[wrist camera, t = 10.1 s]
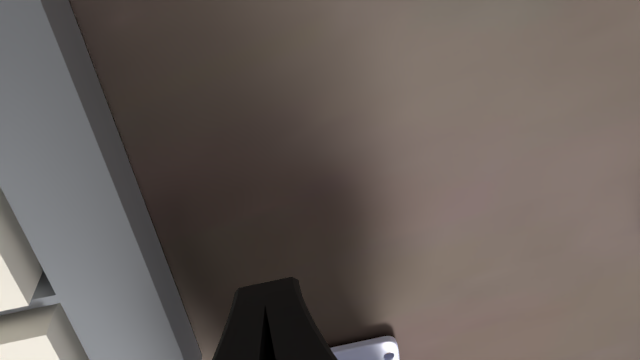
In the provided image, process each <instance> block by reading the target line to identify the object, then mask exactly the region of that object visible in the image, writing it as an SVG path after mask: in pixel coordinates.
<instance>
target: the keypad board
mask: <svg viewBox="0 0 640 360" xmlns="http://www.w3.org/2000/svg"><path fill="white" fill-rule="evenodd" d="M0 187H1V189H2V191H3V193H4V195H5V197H6V199H7V200H8V202H9V204H10V206H11V208H12V210H13V212H14V214H15V216H16V218H17V220H18V222H19V224H20V226H21V228H22V230H23V232H24V234H25V235H26V237H27V239H28V241H29V243H30V245H31V247H32V249H33V251H34V253H35V255H36V257H37V259H38V261H39V263H40V265H41V267H42V268H43V272H42V275H41V277H40V280H39V282H38V284H37V287H36V289H35V292H34V294H33V296H32V299H31V301H30V304H29V306H24V307H19V308H15V309H10V310H5V311H0V315H5V314H10V313H15V312H19V311H24V310H29V309H34V308H38V307H43V306H48V305H53V304H57V303H61V305H62V307H63V309H64V311H65V313H66V315H67V317H68V319H69V321H70V323H71V325H72V327H73V329H74V331H75V333H76V334H77V336H78V338H79V340H80V342H81V344H82V346H83V348H84V350H85V352H86V354H87V356H88V358H89V360H202V354H201V352H200V349H199V346H198V344H197V341H196V338H195V336H194V333H193V330H192V328H191V325H190V322H189V320H188V317H187V314H186V312H185V309H184V306H183V304H182V301H181V298H180V296H179V293H178V290H177V288H176V285H175V282H174V280H173V277H172V274H171V272H170V269H169V266H168V264H167V261H166V258H165V256H164V253H163V250H162V248H161V245H160V242H159V240H158V237H157V234H156V232H155V229H154V226H153V224H152V221H151V218H150V216H149V213H148V210H147V208H146V205H145V202H144V200H143V197H142V194H141V192H140V189H139V186H138V184H137V181H136V178H135V176H134V173H133V170H132V168H131V165H130V162H129V160H128V157H127V154H126V152H125V149H124V147H123V144H122V141H121V139H120V136H119V133H118V131H117V128H116V125H115V123H114V120H113V117H112V115H111V112H110V109H109V107H108V104H107V101H106V99H105V96H104V93H103V91H102V88H101V85H100V83H99V80H98V77H97V75H96V72H95V69H94V67H93V64H92V61H91V59H90V56H89V53H88V51H87V48H86V45H85V43H84V40H83V37H82V35H81V32H80V29H79V27H78V24H77V21H76V19H75V16H74V13H73V11H72V8H71V5H70V3H69V0H0Z"/></svg>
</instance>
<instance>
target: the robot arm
mask: <svg viewBox="0 0 640 360" xmlns="http://www.w3.org/2000/svg"><path fill="white" fill-rule="evenodd" d="M388 352H391V353H389V354H386V353H388ZM212 360H400V357H399V350H398V345H397V341H396V339H395V338H394V337H392V336H383V337H378V338H374V339H369V340H364V341H360V342H355V343H350V344H346V345H341V346H336V347H332V348H329V346H328V345H327V343H326V341H325V340H324V338H323V336H322V335H321V333H320V331H319V330H318V328H317V326H316V325H315V323H314V321H313V319H312V317H311V315H310V313H309V311H308V309H307V307H306V305H305V302H304V300H303V297H302V294H301V290H300V286H299V282H298V280H297V279H295V278H293V277H289V278H285V279H280V280H275V281H270V282H266V283H261V284H256V285H251V286H247V287H242V288H239V289H238V290H237V291H236V292H235V295H234V300H233V303H232V307H231V310H230V313H229V317H228V320H227V323H226V325H225V328H224V331H223V334H222V337H221V339H220V342H219V344H218V347H217V349H216V352H215V354H214V357H213V359H212Z"/></svg>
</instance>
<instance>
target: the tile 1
mask: <svg viewBox="0 0 640 360" xmlns="http://www.w3.org/2000/svg"><path fill="white" fill-rule="evenodd" d="M42 272H43V268H42V267H41V265H40V263H39V261H38V259H37V257H36V255H35V253H34V251H33V249H32V247H31V245H30V243H29V241H28V239H27V237H26V235H25V234H24V232H23V230H22V228H21V226H20V224H19V222H18V220H17V218H16V216H15V214H14V212H13V210H12V208H11V206H10V204H9V202H8V200H7V199H6V197H5V195H4V193H3V191H2V189H1V187H0V311H5V310H10V309H15V308H19V307H24V306H29V304H30V301H31V299H32V296H33V294H34V292H35V289H36V287H37V284H38V282H39V280H40V277H41V275H42Z"/></svg>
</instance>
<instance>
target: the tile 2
mask: <svg viewBox="0 0 640 360" xmlns="http://www.w3.org/2000/svg"><path fill="white" fill-rule="evenodd" d="M0 360H89V358H88V356H87V354H86V352H85V350H84V348H83V346H82V344H81V342H80V340H79V338H78V336H77V334H76V333H75V331H74V329H73V327H72V325H71V323H70V321H69V319H68V317H67V315H66V313H65V311H64V309H63V307H62V305H61V303H57V304H53V305H48V306H43V307H38V308H34V309H29V310H24V311H19V312H15V313H10V314H5V315H0Z"/></svg>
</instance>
